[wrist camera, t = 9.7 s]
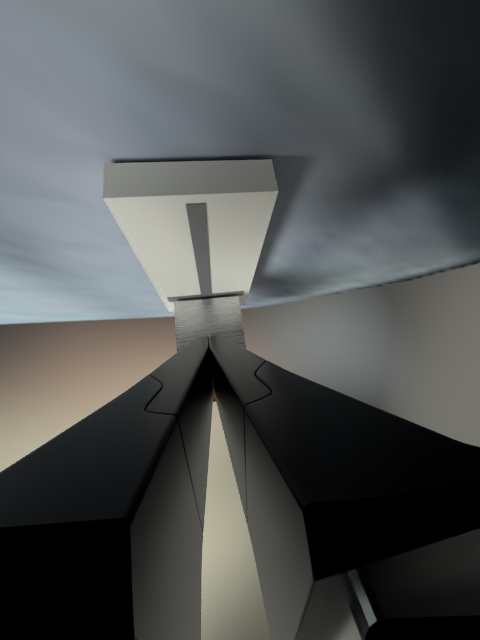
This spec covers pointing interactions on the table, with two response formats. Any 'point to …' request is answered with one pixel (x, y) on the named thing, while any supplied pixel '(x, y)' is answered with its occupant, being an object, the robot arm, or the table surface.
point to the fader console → (194, 222)
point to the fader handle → (208, 321)
